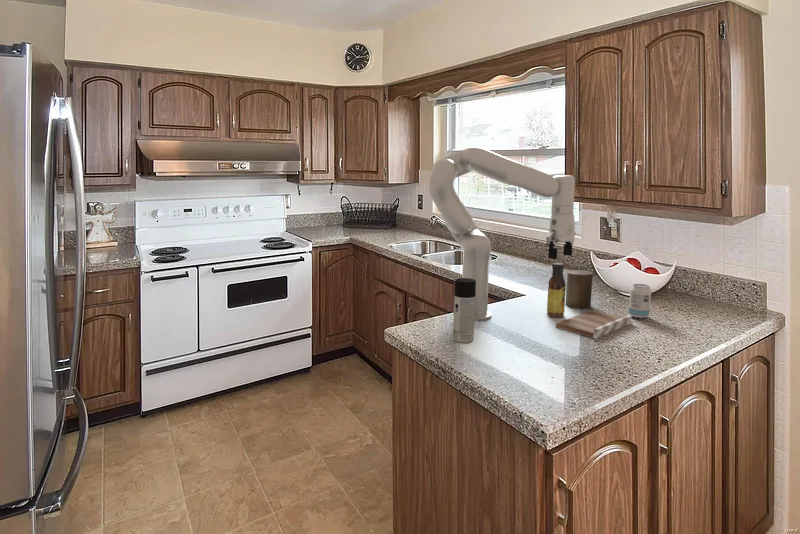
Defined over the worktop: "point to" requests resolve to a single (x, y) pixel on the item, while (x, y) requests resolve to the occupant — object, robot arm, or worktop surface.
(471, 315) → the spray can
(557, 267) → the sauce bottle
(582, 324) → the shelf board
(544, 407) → the worktop surface
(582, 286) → the pillar candle
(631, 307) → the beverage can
